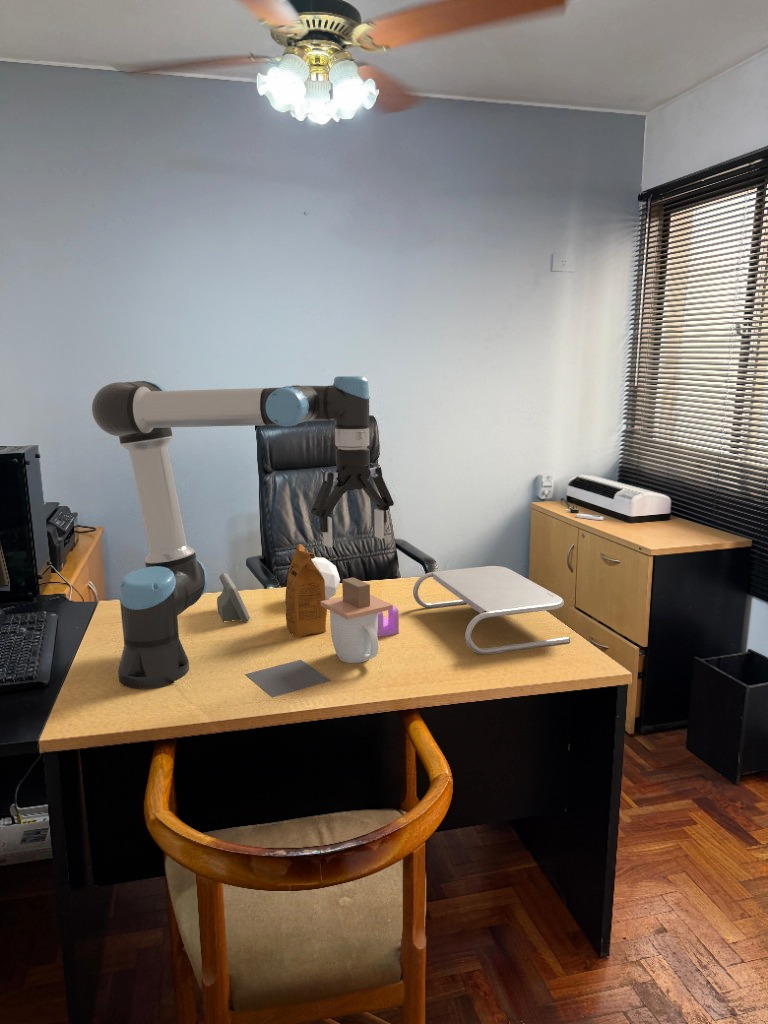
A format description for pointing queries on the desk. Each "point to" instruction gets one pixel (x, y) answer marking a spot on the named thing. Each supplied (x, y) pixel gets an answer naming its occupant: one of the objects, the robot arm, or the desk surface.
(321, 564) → the geodesic sphere
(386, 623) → the bracket
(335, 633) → the mug
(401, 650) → the desk surface
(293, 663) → the mat
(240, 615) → the digital clock
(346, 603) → the lid
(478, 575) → the monitor stand
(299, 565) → the coffee package
